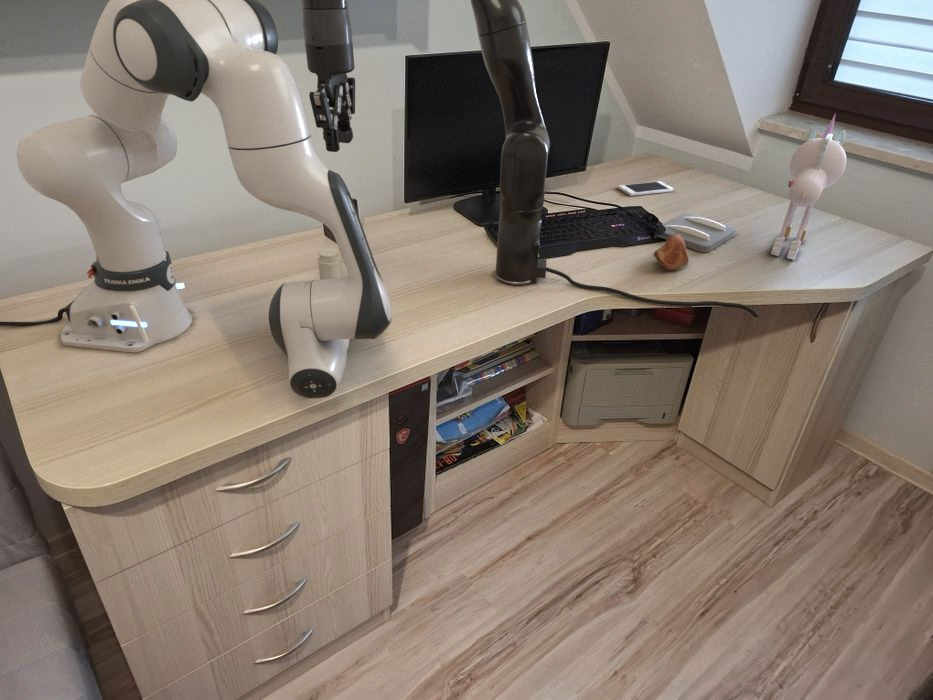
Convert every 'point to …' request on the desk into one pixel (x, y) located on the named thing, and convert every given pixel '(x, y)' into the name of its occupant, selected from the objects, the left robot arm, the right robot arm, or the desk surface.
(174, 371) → the desk surface
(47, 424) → the desk surface
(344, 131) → the lid
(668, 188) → the smartphone
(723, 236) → the light switch
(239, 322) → the desk surface
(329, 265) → the beige cylindrical bottle
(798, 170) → the toy
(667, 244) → the fossil
